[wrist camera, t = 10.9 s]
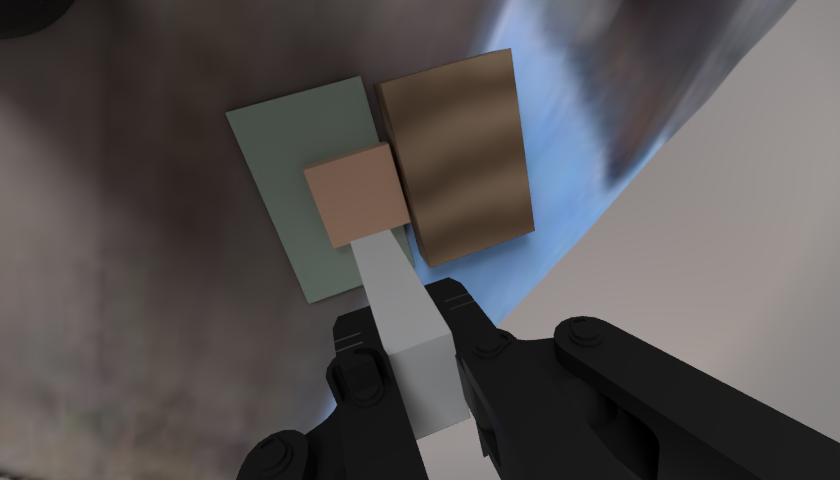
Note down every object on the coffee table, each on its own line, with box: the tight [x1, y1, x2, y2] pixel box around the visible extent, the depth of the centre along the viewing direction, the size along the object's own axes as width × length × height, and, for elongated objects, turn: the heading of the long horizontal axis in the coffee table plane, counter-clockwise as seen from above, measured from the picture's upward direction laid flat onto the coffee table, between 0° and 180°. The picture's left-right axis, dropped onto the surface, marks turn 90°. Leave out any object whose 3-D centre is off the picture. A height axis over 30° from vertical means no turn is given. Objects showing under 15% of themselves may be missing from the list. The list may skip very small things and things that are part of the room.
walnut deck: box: [373, 48, 535, 268], centre depth 39 cm, size 18×12×4 cm, turn 15°
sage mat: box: [225, 76, 415, 304], centre depth 39 cm, size 20×12×1 cm, turn 15°
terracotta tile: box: [303, 141, 411, 249], centre depth 38 cm, size 8×8×2 cm
